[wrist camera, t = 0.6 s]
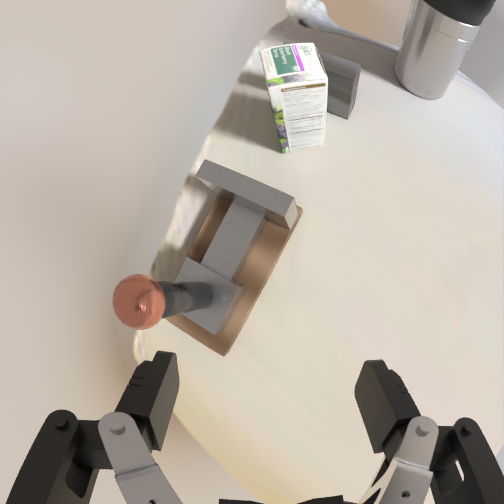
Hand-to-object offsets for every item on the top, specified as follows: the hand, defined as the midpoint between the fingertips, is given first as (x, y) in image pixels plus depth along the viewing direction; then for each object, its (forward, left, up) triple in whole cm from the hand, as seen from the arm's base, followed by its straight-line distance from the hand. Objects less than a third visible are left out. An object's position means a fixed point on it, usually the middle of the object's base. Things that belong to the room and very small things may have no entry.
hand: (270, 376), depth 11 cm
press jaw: (-2, -10, -20) cm, 23 cm away
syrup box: (-21, -10, -23) cm, 33 cm away
